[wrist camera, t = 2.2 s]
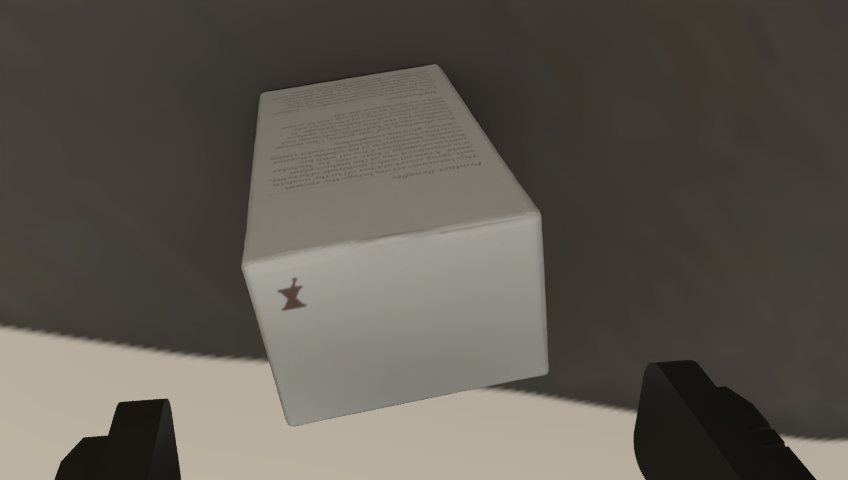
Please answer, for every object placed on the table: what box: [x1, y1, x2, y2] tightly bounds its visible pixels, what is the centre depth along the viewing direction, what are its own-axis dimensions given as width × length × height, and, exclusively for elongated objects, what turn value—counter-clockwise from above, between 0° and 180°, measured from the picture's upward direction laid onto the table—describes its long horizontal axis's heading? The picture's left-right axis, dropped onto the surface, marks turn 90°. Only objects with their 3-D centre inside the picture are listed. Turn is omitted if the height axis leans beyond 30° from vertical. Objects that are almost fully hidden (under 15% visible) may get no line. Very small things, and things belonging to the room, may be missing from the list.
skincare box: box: [241, 64, 549, 426], centre depth 22 cm, size 6×4×12 cm
